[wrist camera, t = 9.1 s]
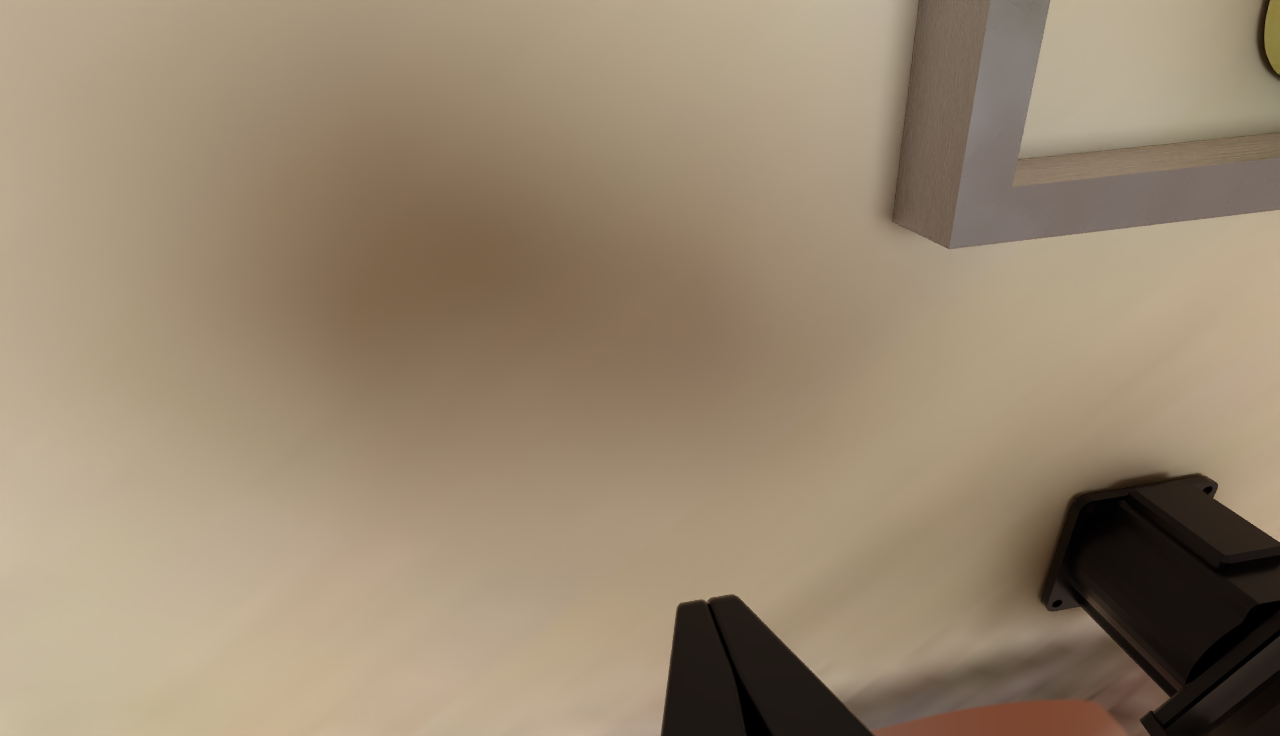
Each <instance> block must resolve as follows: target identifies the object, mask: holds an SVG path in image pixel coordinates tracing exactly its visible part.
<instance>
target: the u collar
mask: <svg viewBox="0 0 1280 736" xmlns="http://www.w3.org/2000/svg"><path fill="white" fill-rule="evenodd" d="M1049 4H1050V0H919V8H918V16H917V24H916V32H915V41H914V49H913V57H912V65H911V73H910V82H909V90H908V98H907V106H906V115H905V123H904V131H903V139H902V147H901V156H900V164H899V172H898V180H897V189H896V197H895V205H894V213H893V221H892V222H894V223H896V224H899V225H901V226H903V227H905V228H907V229H909V230H911V231H913V232H915V233H917V234H919V235H921V236H923V237H925V238H927V239H929V240H931V241H933V242H936V243H938V244H940V245H942V246H944V247H946V248H948V249H954V248H962V247H970V246H979V245H987V244H996V243H1004V242H1012V241H1021V240H1029V239H1038V238H1046V237H1054V236H1063V235H1071V234H1080V233H1088V232H1096V231H1105V230H1113V229H1121V228H1130V227H1138V226H1147V225H1155V224H1163V223H1172V222H1180V221H1189V220H1197V219H1205V218H1214V217H1222V216H1231V215H1239V214H1247V213H1256V212H1264V211H1273V210H1280V133H1270V134H1260V135H1251V136H1241V137H1232V138H1222V139H1212V140H1203V141H1193V142H1184V143H1174V144H1164V145H1155V146H1145V147H1136V148H1126V149H1116V150H1107V151H1097V152H1087V153H1078V154H1068V155H1059V156H1049V157H1039V158H1030V159H1020V160H1017V159H1018V155H1019V150H1020V145H1021V140H1022V135H1023V130H1024V125H1025V120H1026V116H1027V111H1028V106H1029V101H1030V96H1031V91H1032V86H1033V82H1034V77H1035V72H1036V67H1037V62H1038V57H1039V52H1040V48H1041V43H1042V38H1043V33H1044V28H1045V23H1046V18H1047V14H1048V9H1049Z"/></svg>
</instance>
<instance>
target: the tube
mask: <svg viewBox="0 0 1280 736" xmlns="http://www.w3.org/2000/svg"><path fill="white" fill-rule="evenodd" d="M1264 42H1265V50H1266V54H1267V57H1268V59H1269V62H1270V64H1271V66H1272V68H1273V69H1274V70H1275V71H1276V73H1278V74H1279V75H1280V0H1270V2H1269V7H1268V11H1267V15H1266V21H1265V32H1264Z"/></svg>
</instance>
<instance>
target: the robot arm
mask: <svg viewBox="0 0 1280 736" xmlns="http://www.w3.org/2000/svg"><path fill="white" fill-rule="evenodd" d="M1217 488H1218V484H1217V483H1216V482H1215V481H1213V480H1212V479H1210V478H1208V477H1207V476H1199V477H1192V478H1186V479H1180V480H1174V481H1168V482H1161V483H1155V484H1149V485H1143V486H1137V487H1131V488H1124V489H1118V490H1112V491H1106V492H1100V493H1093V494H1087V495H1083V496H1081V497H1079V498H1078V499H1077V500H1076V501H1075V502H1074V503H1073V505H1072V507H1071V510H1070V513H1069V516H1068V519H1067V522H1066V525H1065V528H1064V531H1063V534H1062V537H1061V540H1060V543H1059V546H1058V549H1057V552H1056V555H1055V558H1054V561H1053V564H1052V567H1051V570H1050V573H1049V576H1048V579H1047V582H1046V585H1045V588H1044V591H1043V594H1042V597H1041V603H1042V604H1043V605H1044V606H1045V607H1046V608H1047V609H1048V610H1049V611H1059V610H1064V609H1070V608H1075V607H1082V608H1083V609H1084V610H1085V611H1086V612H1087V613H1088V614H1089V615H1090V616H1091V617H1092V618H1093V619H1094V620H1095V621H1096V622H1097V623H1098V624H1099V625H1100V626H1101V627H1102V628H1103V629H1104V630H1105V631H1106V633H1107V634H1108V635H1109V636H1110V637H1111V638H1112V639H1113V640H1114V641H1115V642H1116V643H1117V644H1118V645H1119V646H1120V647H1121V648H1122V649H1123V650H1124V651H1125V652H1126V653H1127V654H1128V655H1129V656H1130V657H1131V658H1132V659H1133V660H1134V661H1135V662H1136V663H1137V664H1138V665H1139V666H1140V667H1141V668H1142V669H1143V670H1144V671H1145V672H1146V673H1147V674H1148V675H1149V676H1150V677H1151V678H1152V679H1153V680H1154V681H1155V682H1156V683H1157V684H1158V685H1159V686H1160V687H1161V688H1162V689H1163V690H1164V692H1165V693H1166V694H1167V695H1168V696H1169V697H1170V699H1168V700H1167V701H1166V702H1165V703H1164V704H1162V705H1161V706H1160V707H1159V708H1158V709H1156V710H1155V711H1154V712H1153V711H1149V712H1148V713H1147V714H1146V715H1144V716H1143V717H1142V718H1141V719H1140V721H1141V723H1142V724H1143V726H1144V727H1145V729H1146V730H1147V731H1148V733H1149V734H1150V736H1280V542H1278V541H1277V540H1275V539H1274V538H1272V537H1271V536H1269V535H1268V534H1266V533H1265V532H1263V531H1262V530H1260V529H1259V528H1257V527H1256V526H1254V525H1253V524H1251V523H1250V522H1248V521H1247V520H1245V519H1244V518H1242V517H1241V516H1239V515H1238V514H1236V513H1235V512H1233V511H1232V510H1230V509H1229V508H1227V507H1226V506H1224V505H1222V504H1221V503H1219V502H1218V501H1216V500H1215V499H1213V497H1214V495H1215V493H1216V491H1217ZM661 736H875V735H874V734H873V733H872V732H871V731H870V730H869V729H868V728H867V727H866V726H865V725H864V724H863V723H862V722H861V721H860V720H859V719H858V718H857V717H856V716H855V715H854V714H853V713H852V712H851V711H850V710H849V709H848V708H847V707H846V706H845V705H844V704H843V703H842V702H841V701H840V700H839V699H838V698H837V697H836V695H835V694H834V693H833V692H832V691H831V690H830V689H829V688H828V687H827V686H826V685H825V684H824V683H823V682H822V681H821V680H820V679H819V678H818V677H817V676H816V675H815V674H814V673H813V672H812V671H811V670H810V669H809V668H808V667H807V666H806V665H805V664H804V663H803V662H802V661H801V660H800V659H799V658H798V657H797V656H796V655H795V654H794V653H793V652H792V651H791V650H790V649H789V648H788V647H787V646H786V645H785V644H784V643H783V642H782V641H781V640H780V639H779V638H778V637H777V636H776V635H775V634H774V633H773V632H772V631H771V630H770V629H769V628H768V627H767V626H766V625H765V624H764V623H763V622H762V621H761V619H760V618H759V617H758V616H757V615H756V614H755V613H754V612H753V611H752V610H751V609H750V608H749V607H748V606H747V605H746V604H745V603H744V602H743V601H742V600H741V599H740V598H739V597H737V596H735V595H725V596H719V597H713V598H710V599H709V600H708V601H707V602H706V601H705V600H695V601H689V602H683V603H680V604H679V605H678V606H677V611H676V619H675V627H674V634H673V642H672V650H671V658H670V666H669V674H668V682H667V690H666V698H665V706H664V714H663V722H662V730H661Z"/></svg>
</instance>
